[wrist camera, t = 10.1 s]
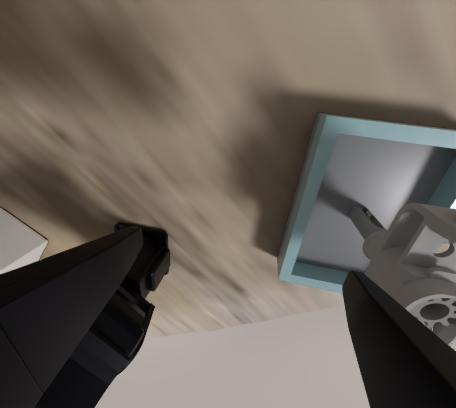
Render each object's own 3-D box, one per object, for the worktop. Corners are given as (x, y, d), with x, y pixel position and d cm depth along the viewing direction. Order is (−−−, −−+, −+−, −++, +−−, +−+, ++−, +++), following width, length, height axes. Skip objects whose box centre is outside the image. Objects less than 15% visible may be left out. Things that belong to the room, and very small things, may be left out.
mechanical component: (405, 158, 16) (571, 232, 7) (354, 261, 21) (416, 382, 12) (364, 152, 16) (474, 216, 7) (322, 255, 21) (361, 369, 12)
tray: (277, 258, 24) (278, 279, 21) (317, 112, 17) (326, 115, 14) (382, 279, 22) (398, 305, 20) (471, 131, 16) (516, 138, 13)
